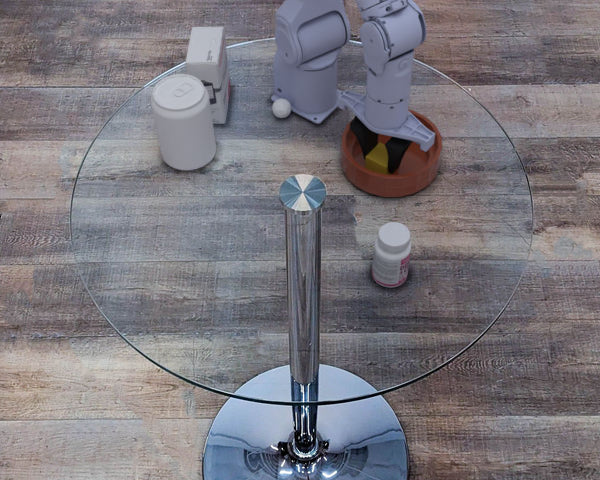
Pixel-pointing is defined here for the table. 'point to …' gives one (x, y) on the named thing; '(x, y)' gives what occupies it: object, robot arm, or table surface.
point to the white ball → (281, 108)
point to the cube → (378, 160)
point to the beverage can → (183, 122)
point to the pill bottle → (391, 255)
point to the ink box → (210, 67)
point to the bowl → (407, 178)
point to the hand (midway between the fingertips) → (382, 162)
